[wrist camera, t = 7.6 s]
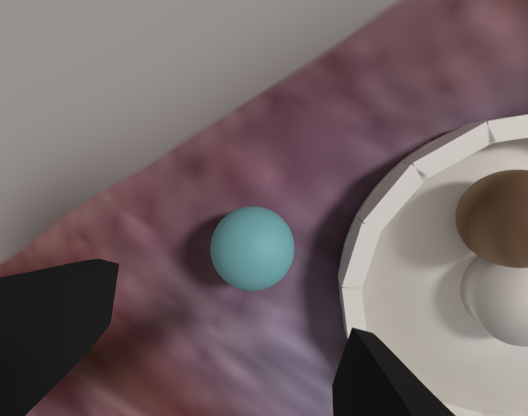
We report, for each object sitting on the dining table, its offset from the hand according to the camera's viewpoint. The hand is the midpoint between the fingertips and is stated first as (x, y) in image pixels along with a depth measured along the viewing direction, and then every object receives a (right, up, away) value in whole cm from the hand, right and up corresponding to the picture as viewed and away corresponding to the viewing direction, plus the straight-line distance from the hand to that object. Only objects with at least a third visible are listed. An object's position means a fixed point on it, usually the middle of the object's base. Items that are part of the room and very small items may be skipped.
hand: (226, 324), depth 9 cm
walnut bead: (+12, +4, +7) cm, 14 cm away
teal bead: (+1, +2, +9) cm, 9 cm away
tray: (+15, -1, +8) cm, 17 cm away
